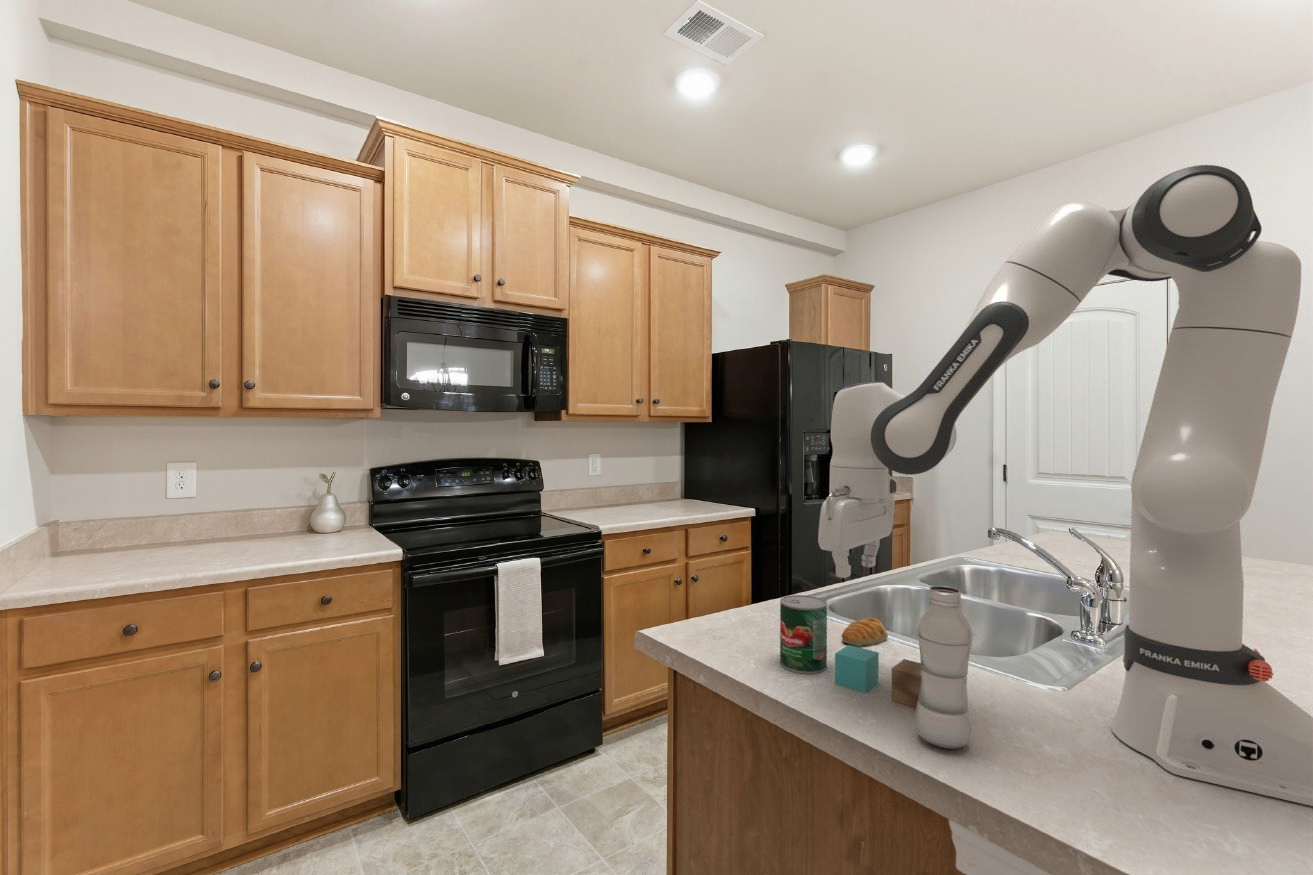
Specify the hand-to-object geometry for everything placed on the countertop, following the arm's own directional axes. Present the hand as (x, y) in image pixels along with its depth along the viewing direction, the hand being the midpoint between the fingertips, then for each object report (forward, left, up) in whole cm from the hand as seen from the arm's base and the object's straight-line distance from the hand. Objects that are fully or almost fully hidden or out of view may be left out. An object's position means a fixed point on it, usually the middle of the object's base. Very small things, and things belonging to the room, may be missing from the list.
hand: (856, 571), depth 97 cm
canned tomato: (+10, -1, -18) cm, 21 cm away
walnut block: (-9, 0, -18) cm, 20 cm away
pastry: (+7, -20, -18) cm, 28 cm away
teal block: (0, 0, -18) cm, 18 cm away
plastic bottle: (-16, +10, -18) cm, 26 cm away
